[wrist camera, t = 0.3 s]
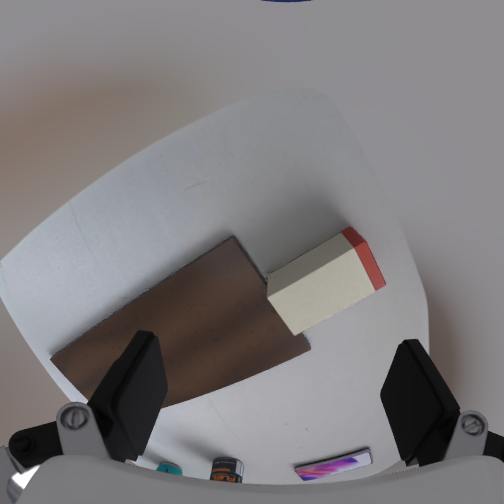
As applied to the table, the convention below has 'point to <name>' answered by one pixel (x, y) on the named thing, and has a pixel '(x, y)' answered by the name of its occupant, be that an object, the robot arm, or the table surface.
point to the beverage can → (170, 468)
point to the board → (193, 329)
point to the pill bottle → (227, 470)
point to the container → (324, 281)
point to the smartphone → (335, 465)
